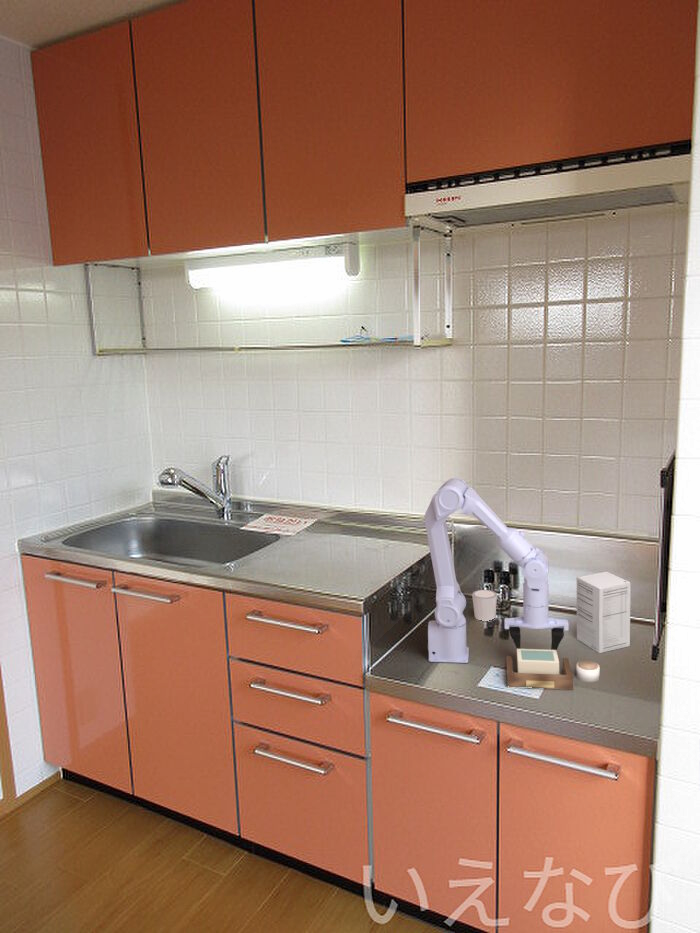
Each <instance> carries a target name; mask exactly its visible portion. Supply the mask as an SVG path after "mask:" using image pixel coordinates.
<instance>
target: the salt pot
mask: <svg viewBox="0 0 700 933" xmlns="http://www.w3.org/2000/svg"><path fill="white" fill-rule="evenodd" d="M600 668H601V667H600V664H598V662H596V661H594V660H589V659H588V660H587V659H583V660H580V661H577V662H576V672H575V673H576V678H577V679H578V680H579V681H582V682H585V683H595V682H597V681H599V680H600V676H601V674H600V673H601V672H600V670H601V669H600Z"/></svg>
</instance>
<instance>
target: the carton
mask: <svg viewBox="0 0 700 933" xmlns="http://www.w3.org/2000/svg"><path fill="white" fill-rule="evenodd" d="M557 651H558V650H557ZM557 651H556V650H551V649H542V648H541V649H540V648H539V649H538V648H537V649H536V648H521V649H516V669H517V671H516V673H532V674H558V675H560V660H559V656H558V652H557Z"/></svg>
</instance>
